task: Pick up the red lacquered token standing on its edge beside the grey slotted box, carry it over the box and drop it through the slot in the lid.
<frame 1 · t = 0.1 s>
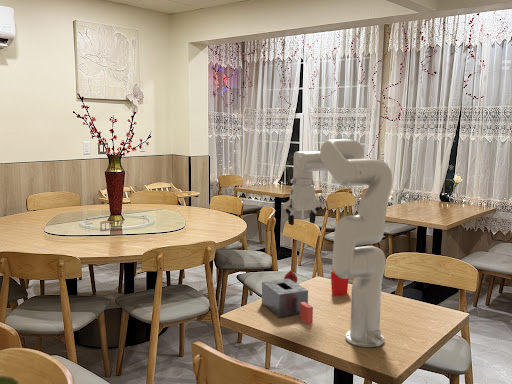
hand: (301, 223, 201), 31 cm above the table, tool pointing down, fingers open, 9 cm apart
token: (306, 320, 181), on the table
grey slotted box: (284, 308, 193), on the table
onion: (290, 288, 218), on the table
french fries: (340, 293, 211), on the table
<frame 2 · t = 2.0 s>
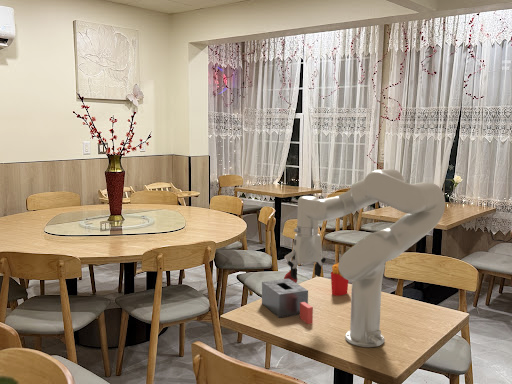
hand: (305, 277, 179), 16 cm above the table, tool pointing down, fingers open, 9 cm apart
nothing on the table moved.
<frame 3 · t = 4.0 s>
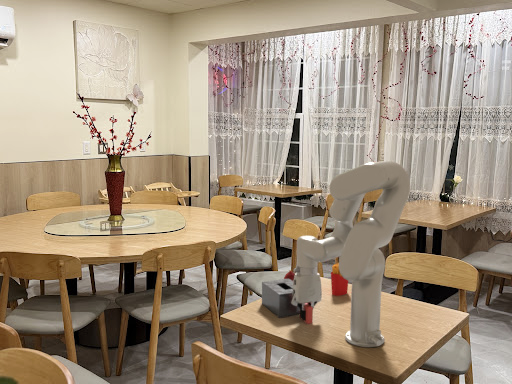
hand: (306, 318, 180), 1 cm above the table, tool pointing down, fingers closed on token
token: (305, 320, 181), on the table, touching gripper
everything else where it was.
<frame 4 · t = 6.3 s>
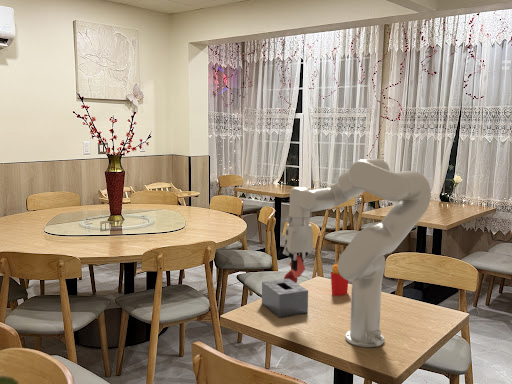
hand: (297, 269, 183), 18 cm above the table, tool pointing down, fingers closed on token, 1 cm apart
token: (294, 270, 185), point 17 cm above the table, tilted 45°, touching gripper
everything else where it was.
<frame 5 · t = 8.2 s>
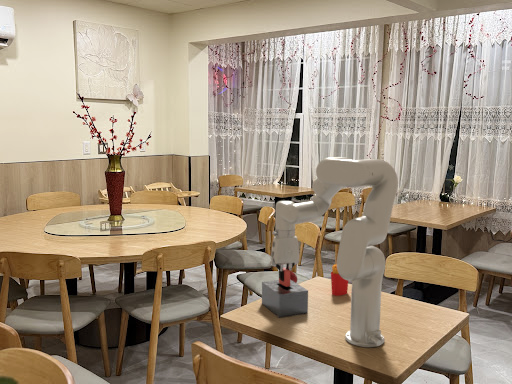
hand: (284, 279, 191), 12 cm above the table, tool pointing down, fingers closed on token, 1 cm apart
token: (281, 274, 194), point 13 cm above the table, tilted 88°, touching gripper
everything else where it was.
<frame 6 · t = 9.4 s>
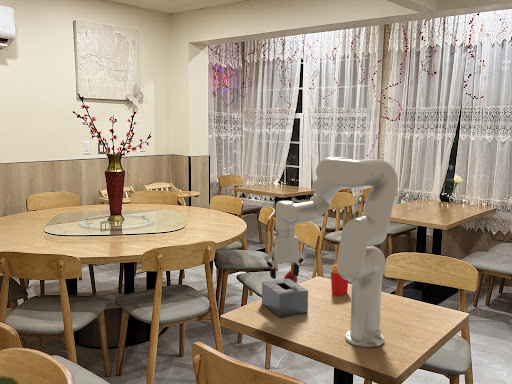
hand: (284, 276, 191), 13 cm above the table, tool pointing down, fingers open, 9 cm apart
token: (280, 297, 195), point 4 cm above the table, tilted 90°, touching grey slotted box
everything else where it was.
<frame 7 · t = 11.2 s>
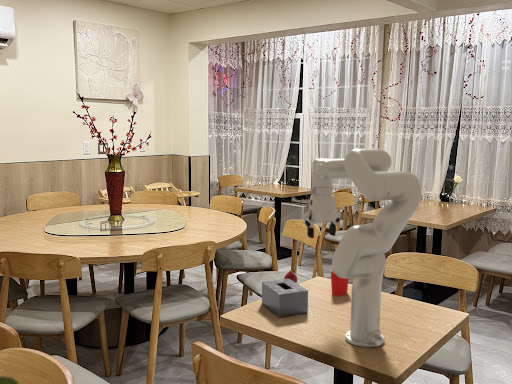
hand: (321, 236, 188), 29 cm above the table, tool pointing down, fingers open, 9 cm apart
nothing on the table moved.
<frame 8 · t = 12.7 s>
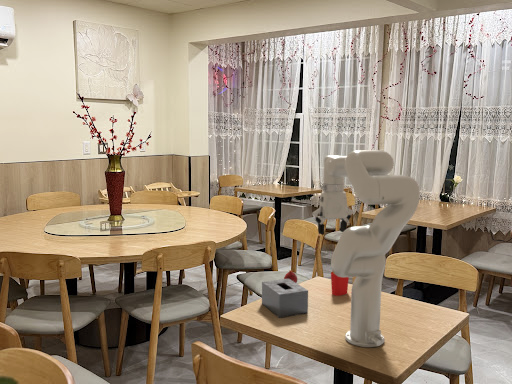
hand: (332, 233, 188), 30 cm above the table, tool pointing down, fingers open, 9 cm apart
nothing on the table moved.
at the end: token inside the target area on the grey slotted box (2.9 cm from its centre), point 3.6 cm above the grey slotted box's base; the gripper is holding nothing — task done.
